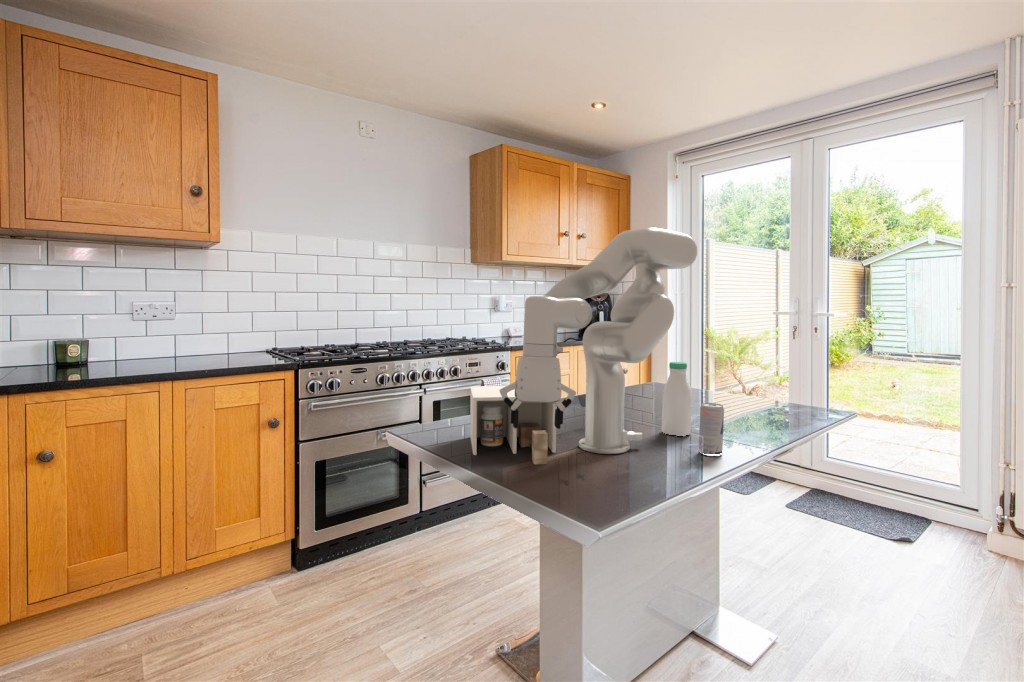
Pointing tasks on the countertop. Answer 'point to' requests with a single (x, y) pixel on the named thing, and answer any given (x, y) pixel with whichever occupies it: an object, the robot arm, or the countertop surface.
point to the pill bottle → (491, 425)
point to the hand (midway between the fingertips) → (536, 427)
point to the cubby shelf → (526, 414)
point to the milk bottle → (677, 401)
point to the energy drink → (711, 428)
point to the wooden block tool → (534, 441)
